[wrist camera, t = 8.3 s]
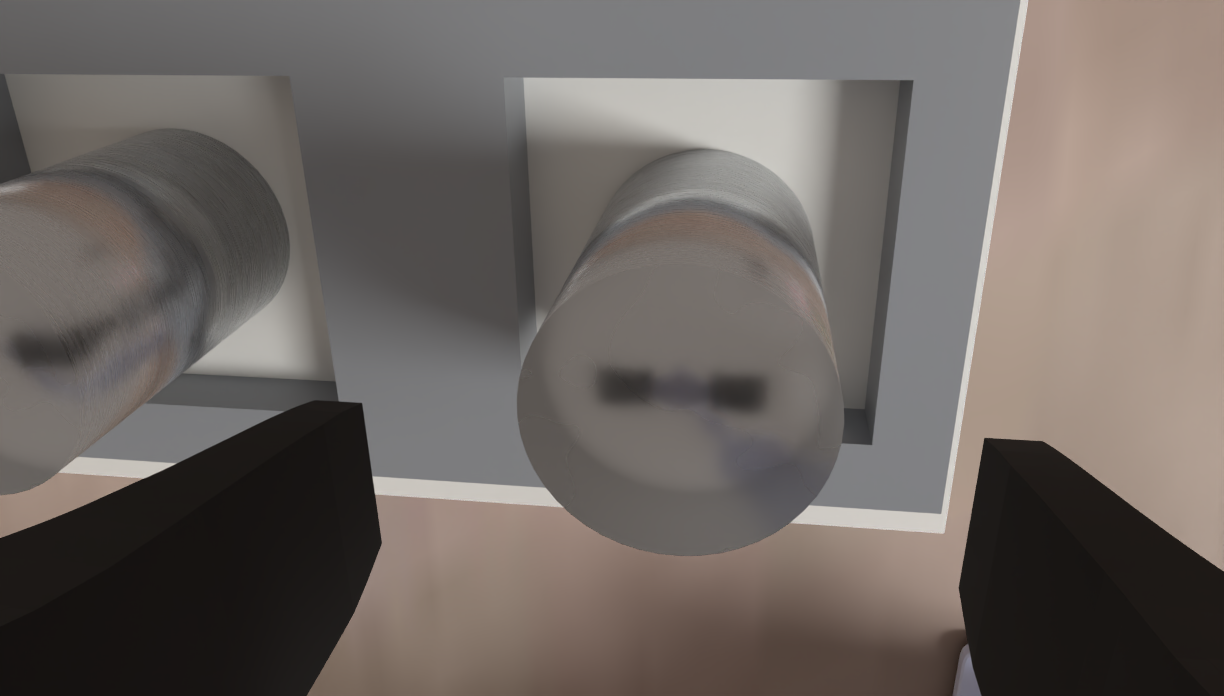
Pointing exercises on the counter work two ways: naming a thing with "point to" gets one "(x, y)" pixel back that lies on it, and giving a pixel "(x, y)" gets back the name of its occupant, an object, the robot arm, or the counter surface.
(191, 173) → the cylinder
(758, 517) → the cylinder
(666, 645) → the counter surface
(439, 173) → the grey rectangular tray
